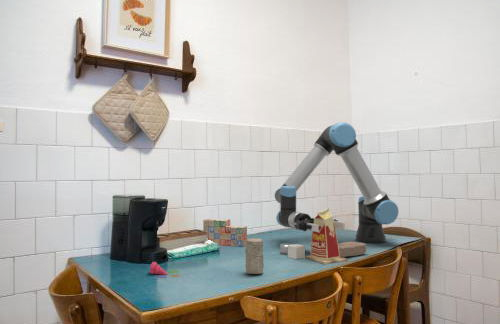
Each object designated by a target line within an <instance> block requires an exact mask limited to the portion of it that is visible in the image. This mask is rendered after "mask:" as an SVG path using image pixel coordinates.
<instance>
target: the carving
mask: <svg viewBox="0 0 500 324" xmlns="http://www.w3.org/2000/svg"><path fill="white" fill-rule="evenodd" d="M244 247H245V248H244V253H245V271H246V273H247V274H249V275H259V274H263V273H264V267H265V266H264V254H263V252H264V240H263V238H257V237H256V238H247V241H246V245H245V246H244Z"/></svg>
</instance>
